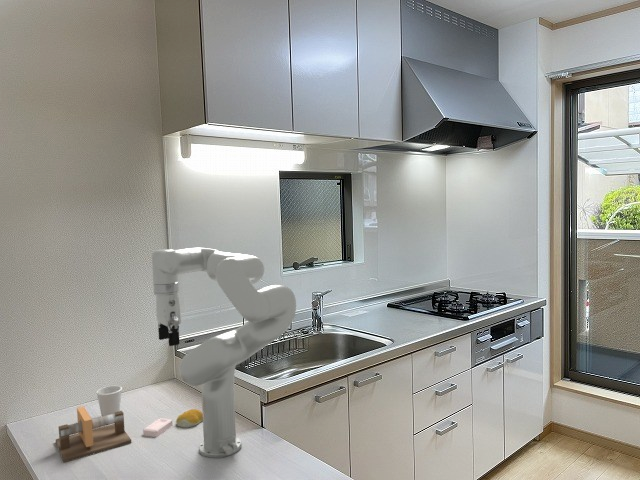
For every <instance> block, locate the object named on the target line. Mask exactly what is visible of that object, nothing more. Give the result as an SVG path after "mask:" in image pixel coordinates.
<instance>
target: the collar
mask: <svg viewBox="0 0 640 480" xmlns="http://www.w3.org/2000/svg"><path fill="white" fill-rule="evenodd" d="M76 415H77V423H78V422H82V427H83V432H79V434H80V436H81V438H82V440H83V442H84V444H85V446H86V447H89V446H92V445H94V444H93V429H92V419H93V418H92V417H91V416H90V414H89V412H88V410H87V409H86V408H85V406H79V407H76Z"/></svg>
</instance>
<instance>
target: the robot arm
mask: <svg viewBox="0 0 640 480" xmlns="http://www.w3.org/2000/svg"><path fill="white" fill-rule="evenodd" d="M151 266H152V267H151V268H152V284H153V285H152V286H153V295H155V296H156V297H155V301H156V304H155V306H156V309H155V310H156V321H157V322H158V323H157V330H158V339H159V340H168V346H169V347H172V346H179V345H180V325H181V323H182V317H181V307H180V300H179V295H178V293H179V292H180V291H179V290H180V289H179V275H185V274H189V273H194V272H195V273H196V272H205V273H207V276H208V277H209V278H210V279H211V280H212V281H216V282H217V284H218V286H219V287H220V288H221V290H222V292H223V293H224V294H225V296H226V297H227V298H228V300H229V301H230V303H231V304H232V305H233V306H234V308H235V309H236V311H237V312H238V314H239V315H240V316H241V317H242V318H243V319H244V320H246V321H247V322H246V323H244V324H243V325H241V326H240V327H238V328H236V329H233V330H229V331H227V332H224V333H221V334H218V335H215V336H212V337H210V338H208V339H207V340H205V341H204V342H202V343H201V344H198V346H196V347H195V348H194V349H192V350H190V351H189V352H188V353H186V354H185V355H184V356H183V357H182V359H181V360H180V363H179V369H178V371H179V372H178V373H179V376H180V379H181V380H182V381H183V382H184V383H185V384H186V385H188V386H192V387H198V386H199V387H200V386H202V387H201V412H202V414H203V421H202V431H203V441H201V442H200V444H199V446H198V452H199V454H201V455H202V456H203V457H206V458H212V459H214V458H216V459H217V458H223V457H224V458H225V457H228V456H231V455H233V454H235V453H237V452H238V451H239V450H240V449H241V448H242V440H241V438H239V437H238V436H237V432H236V431H237V429H236V428H237V427H236V412H235V411H236V409H235V383H234V382H235V371H236V366H237V365H240V364H241V363H244V362H245V361H246V360H248V359H249V358H250V357H252V356H253V355H254V354H256V353H258V352H260V351H261V350H262V349H264V348H265V347H267V346H268V345H270V344H271V343H273V342H274V341H275V340H277V339H279V337H281V336H282V335H284V333H286V331H287V330H288V329H289V328H290V326H291V324H292V322H293V321H294V318H295V315H296V310H297V300H296V299H297V298H296V297H295V296H296V295H295V293H294V292H293V290H292V289H291V288H289V287H287V286H286V285H281V284H274V285H273V284H272V285H268V286H264V287H261V288H255V287H254V285H255V284H256V283H258V282H259V281H260V280H261V279H262V278H263V276H264V273H265V265H264V262H263V261H262V260H261V259H260V258H259V257H257V256H254V255H250V254H246V253H245V254H244V253H243V254H242V253H236V252H235V253H233V252H225V251H219V249H213V248H208V247H207V248H205V247H190V248H181V249H172V248H171V249H170V248H168V249H167V248H165V249H156V250H153V251H152V254H151Z"/></svg>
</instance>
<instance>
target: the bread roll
mask: <svg viewBox="0 0 640 480" xmlns="http://www.w3.org/2000/svg"><path fill="white" fill-rule="evenodd" d="M199 423H203V414H202V410H201V411H200V410H199V409H195V408H194V409H193V408H192V409H189V410H187V411H184V412H183V413H182V414H180V415H178V416H177V418H176V421H175V424H176V425H177V426H178V427H180V428H193V427H195V426H197V425H199Z"/></svg>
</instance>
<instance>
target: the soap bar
mask: <svg viewBox="0 0 640 480" xmlns="http://www.w3.org/2000/svg"><path fill="white" fill-rule="evenodd" d="M171 427H173V419H169V418H158V419H156V420H155V421H153V422H152V423H150V424H149V425H147V426H146V427H145V428H143V430H142V432H143V433H142V434H143V436H145V437H154V438H157V437H158V436H160V435H162V434H163V433H164V432H165V431H167V430H169V429H170V428H171Z"/></svg>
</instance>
